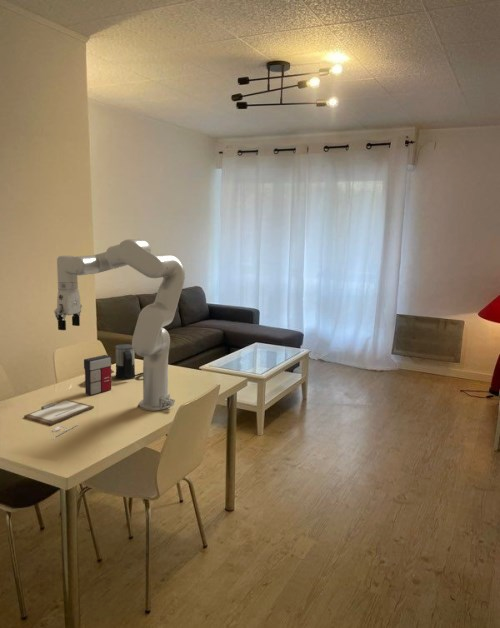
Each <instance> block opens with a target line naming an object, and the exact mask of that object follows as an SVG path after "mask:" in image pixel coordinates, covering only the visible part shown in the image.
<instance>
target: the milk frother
mask: <svg viewBox="0 0 500 628" xmlns="http://www.w3.org/2000/svg"><path fill="white" fill-rule="evenodd" d="M114 348H115V378H116V379H117V380H118V379H119V380H130V379H133V378H136V377H137V376H143V372H141V373H137V374H136V371H135V370H136V369H135V367H136V366H135V365H136V364H135V356H136V355H135V354H136V353H135V352H134V350H133V347H132V344H128V343H127V344H125V343H124V344H117V345H114Z"/></svg>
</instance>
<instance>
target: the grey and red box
mask: <svg viewBox="0 0 500 628" xmlns="http://www.w3.org/2000/svg"><path fill="white" fill-rule="evenodd" d="M83 369H84V385H85V388H84V389H85V391H84V392H85V395H87V396H94V395H98V394H100V393H104V392H108V391H111V390H112V374H111V369H112V356H111V355H108V354H104V355H99V356H98V355H97V356H94V357H90V358H89V357H88V358H85V359H83Z"/></svg>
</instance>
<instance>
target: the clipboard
mask: <svg viewBox="0 0 500 628" xmlns="http://www.w3.org/2000/svg"><path fill="white" fill-rule="evenodd" d="M94 408H95V406H94V405H90V404H87V403H83V402H78V401H74V400H70V399H65V400H63V401H60V402H58V403H55V402H50V403H47V404H45V405H42V406H41V409H38V410H36V411H33V412H31V413H28V414H25V415H23V418H24V419H27V420H30V421H34V422H37V423H41V424H44V425H48V426H54V425H56V424H59V423H61V422H65V421H66V420H69V419H71V418H74V417H76V416H78V415H81V414H83V413H86V412H88V411H91V410H93V409H94Z"/></svg>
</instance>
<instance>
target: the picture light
mask: <svg viewBox="0 0 500 628" xmlns="http://www.w3.org/2000/svg"><path fill="white" fill-rule="evenodd" d="M78 426H80V423H77V424H75V425H74V426H72V427H70V428H68V427H65V426H63V425H58V426H56V427H54V428H53V429H52V433H53V432H54V433H55V432H58V431H60V430H62V428H63V429H64V430H63V431H62V432H60V433H59V434H57V435H55V436H53V437H51V440H54V439H56V438H57V437H59V436H61V435H63V434H65V433H68V431H70V430H72V429H74V428H76V427H78Z"/></svg>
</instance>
